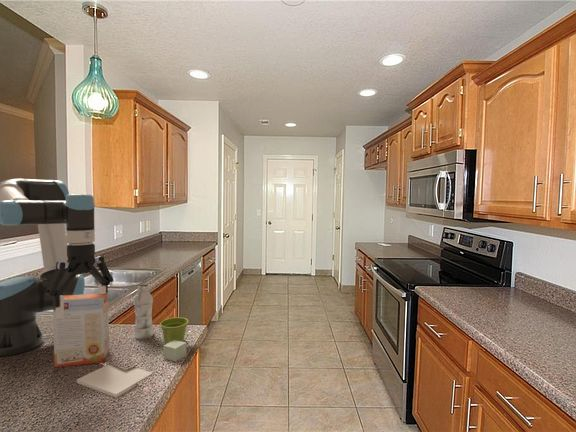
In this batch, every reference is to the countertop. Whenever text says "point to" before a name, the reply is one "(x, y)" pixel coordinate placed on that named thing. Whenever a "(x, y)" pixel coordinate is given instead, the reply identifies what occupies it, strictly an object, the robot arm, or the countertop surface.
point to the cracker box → (82, 330)
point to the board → (113, 379)
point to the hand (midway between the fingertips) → (82, 310)
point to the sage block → (174, 350)
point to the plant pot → (174, 329)
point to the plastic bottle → (143, 313)
